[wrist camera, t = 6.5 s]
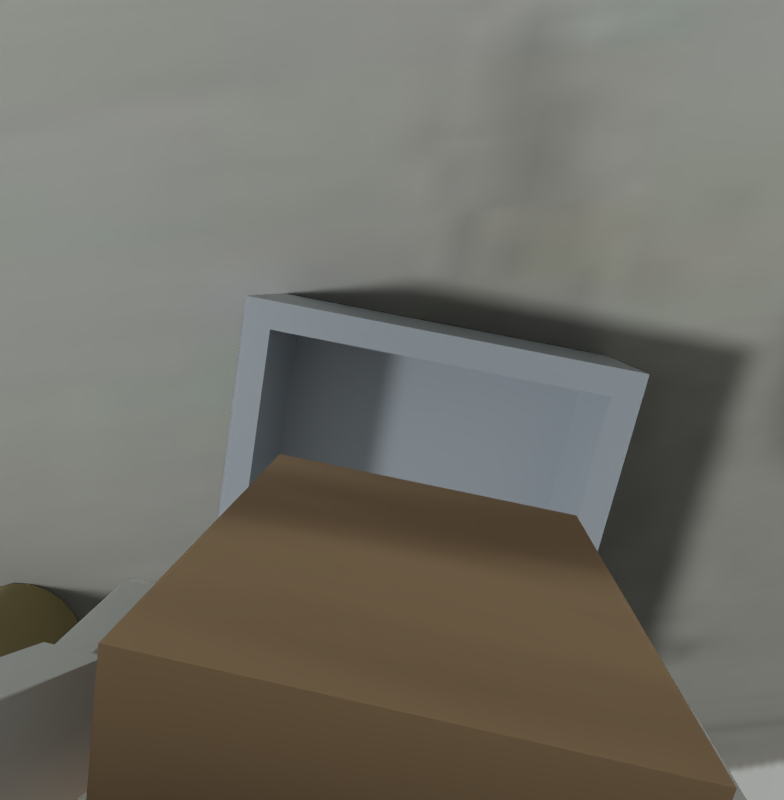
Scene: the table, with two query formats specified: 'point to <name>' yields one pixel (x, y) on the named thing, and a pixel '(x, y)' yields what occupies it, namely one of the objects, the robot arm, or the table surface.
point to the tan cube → (389, 658)
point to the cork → (31, 617)
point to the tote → (429, 406)
